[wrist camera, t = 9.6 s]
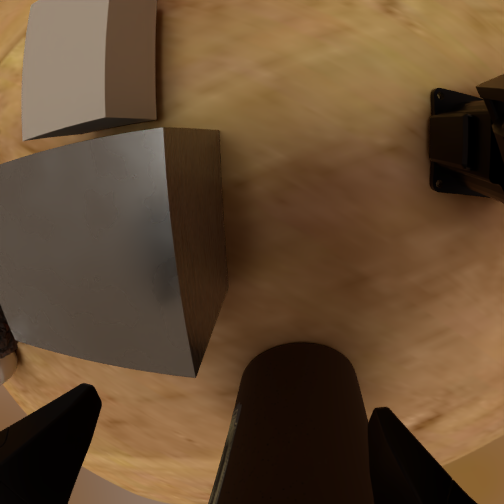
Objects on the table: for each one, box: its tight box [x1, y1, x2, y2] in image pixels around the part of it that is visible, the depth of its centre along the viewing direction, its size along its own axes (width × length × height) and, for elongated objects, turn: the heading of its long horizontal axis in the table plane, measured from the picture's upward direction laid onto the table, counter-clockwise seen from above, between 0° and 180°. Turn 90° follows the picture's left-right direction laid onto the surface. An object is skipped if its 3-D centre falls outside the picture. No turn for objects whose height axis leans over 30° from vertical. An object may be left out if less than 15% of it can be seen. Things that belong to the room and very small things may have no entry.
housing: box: [0, 127, 228, 378], centre depth 15 cm, size 12×10×8 cm
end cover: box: [22, 0, 157, 141], centre depth 10 cm, size 6×15×6 cm, turn 2°
